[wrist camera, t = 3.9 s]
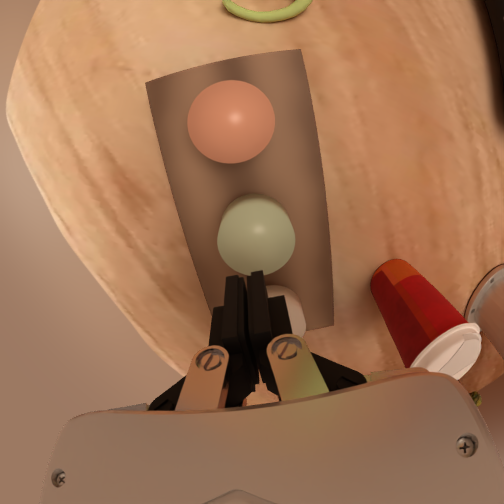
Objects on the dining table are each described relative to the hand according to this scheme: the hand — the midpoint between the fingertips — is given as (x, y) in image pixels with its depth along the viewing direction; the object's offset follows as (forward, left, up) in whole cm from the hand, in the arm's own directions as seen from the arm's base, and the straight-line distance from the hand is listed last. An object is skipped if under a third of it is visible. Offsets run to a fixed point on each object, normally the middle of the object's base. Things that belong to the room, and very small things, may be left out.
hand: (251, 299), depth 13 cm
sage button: (0, 0, -9) cm, 9 cm away
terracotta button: (0, -8, -9) cm, 12 cm away
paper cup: (-14, +11, -14) cm, 23 cm away
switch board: (0, 0, -14) cm, 14 cm away
